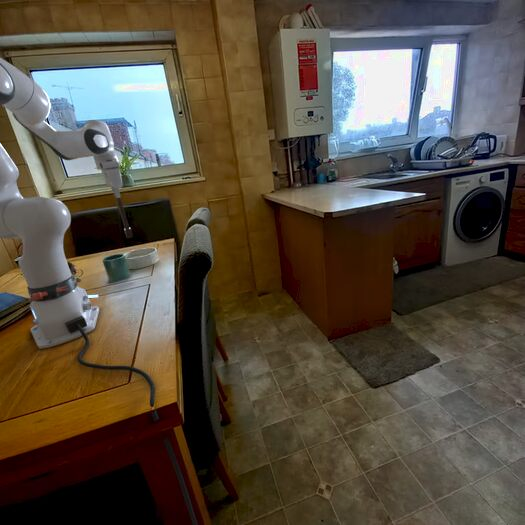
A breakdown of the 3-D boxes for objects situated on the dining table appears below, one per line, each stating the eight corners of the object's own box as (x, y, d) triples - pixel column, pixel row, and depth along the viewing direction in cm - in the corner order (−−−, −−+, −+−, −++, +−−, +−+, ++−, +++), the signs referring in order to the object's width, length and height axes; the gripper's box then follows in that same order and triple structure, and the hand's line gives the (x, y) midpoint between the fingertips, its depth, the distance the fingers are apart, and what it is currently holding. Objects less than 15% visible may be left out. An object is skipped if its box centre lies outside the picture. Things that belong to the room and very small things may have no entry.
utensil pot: (132, 278, 119) (126, 256, 116) (110, 284, 115) (103, 262, 112) (128, 273, 126) (122, 252, 123) (108, 279, 122) (101, 257, 118)
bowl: (163, 263, 134) (160, 251, 132) (128, 273, 126) (124, 261, 124) (154, 256, 147) (151, 245, 145) (122, 265, 138) (118, 253, 136)
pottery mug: (83, 271, 136) (78, 260, 130) (74, 287, 130) (67, 276, 124) (58, 268, 136) (51, 257, 129) (47, 284, 129) (39, 272, 123)
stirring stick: (133, 236, 128) (118, 187, 119) (127, 238, 126) (112, 188, 118) (132, 235, 130) (117, 187, 122) (126, 237, 128) (111, 188, 120)
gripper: (96, 165, 123) (106, 197, 128) (102, 164, 107) (113, 200, 112) (112, 164, 126) (121, 195, 131) (120, 162, 110) (130, 197, 115)
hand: (117, 197), depth 121 cm, fingers closed on stirring stick, 2 cm apart
